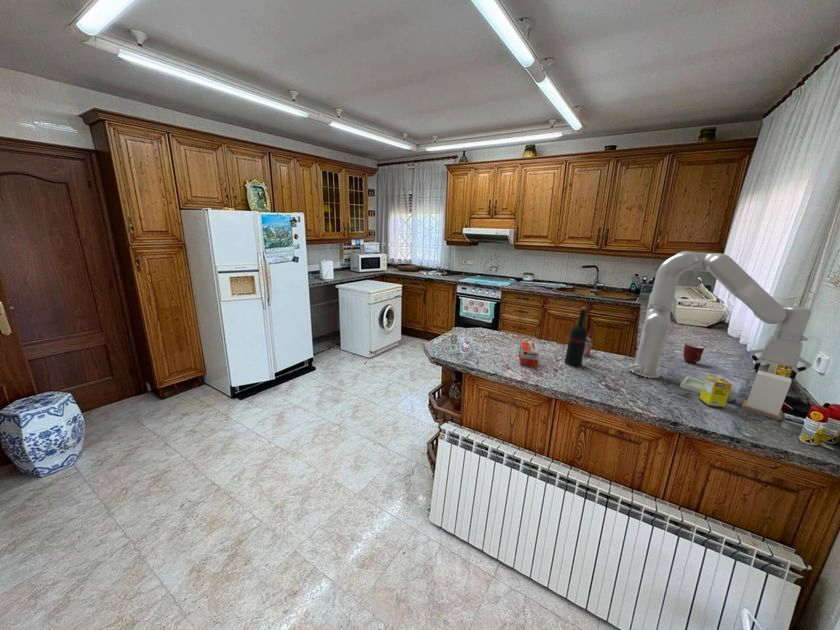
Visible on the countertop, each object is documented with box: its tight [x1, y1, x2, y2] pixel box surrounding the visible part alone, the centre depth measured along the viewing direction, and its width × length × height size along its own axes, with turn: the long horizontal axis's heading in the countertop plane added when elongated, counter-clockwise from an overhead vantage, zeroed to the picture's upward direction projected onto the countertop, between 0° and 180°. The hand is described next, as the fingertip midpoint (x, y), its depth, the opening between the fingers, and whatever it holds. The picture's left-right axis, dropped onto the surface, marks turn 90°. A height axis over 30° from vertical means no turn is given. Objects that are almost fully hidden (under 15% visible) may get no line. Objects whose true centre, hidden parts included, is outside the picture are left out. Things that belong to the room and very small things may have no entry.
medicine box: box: [518, 340, 540, 368], centre depth 166 cm, size 15×8×8 cm, turn 167°
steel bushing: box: [726, 390, 739, 405], centre depth 136 cm, size 5×5×4 cm
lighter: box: [583, 337, 593, 357], centre depth 179 cm, size 8×3×10 cm, turn 5°
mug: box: [683, 342, 705, 365], centre depth 175 cm, size 10×8×10 cm
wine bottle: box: [564, 306, 588, 368], centre depth 164 cm, size 8×10×30 cm
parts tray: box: [679, 376, 705, 395], centre depth 146 cm, size 12×12×2 cm
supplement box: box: [698, 375, 733, 410], centre depth 131 cm, size 6×6×11 cm
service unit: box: [740, 369, 792, 421], centre depth 127 cm, size 8×11×16 cm
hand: (772, 375), depth 134 cm, fingers open, 9 cm apart
